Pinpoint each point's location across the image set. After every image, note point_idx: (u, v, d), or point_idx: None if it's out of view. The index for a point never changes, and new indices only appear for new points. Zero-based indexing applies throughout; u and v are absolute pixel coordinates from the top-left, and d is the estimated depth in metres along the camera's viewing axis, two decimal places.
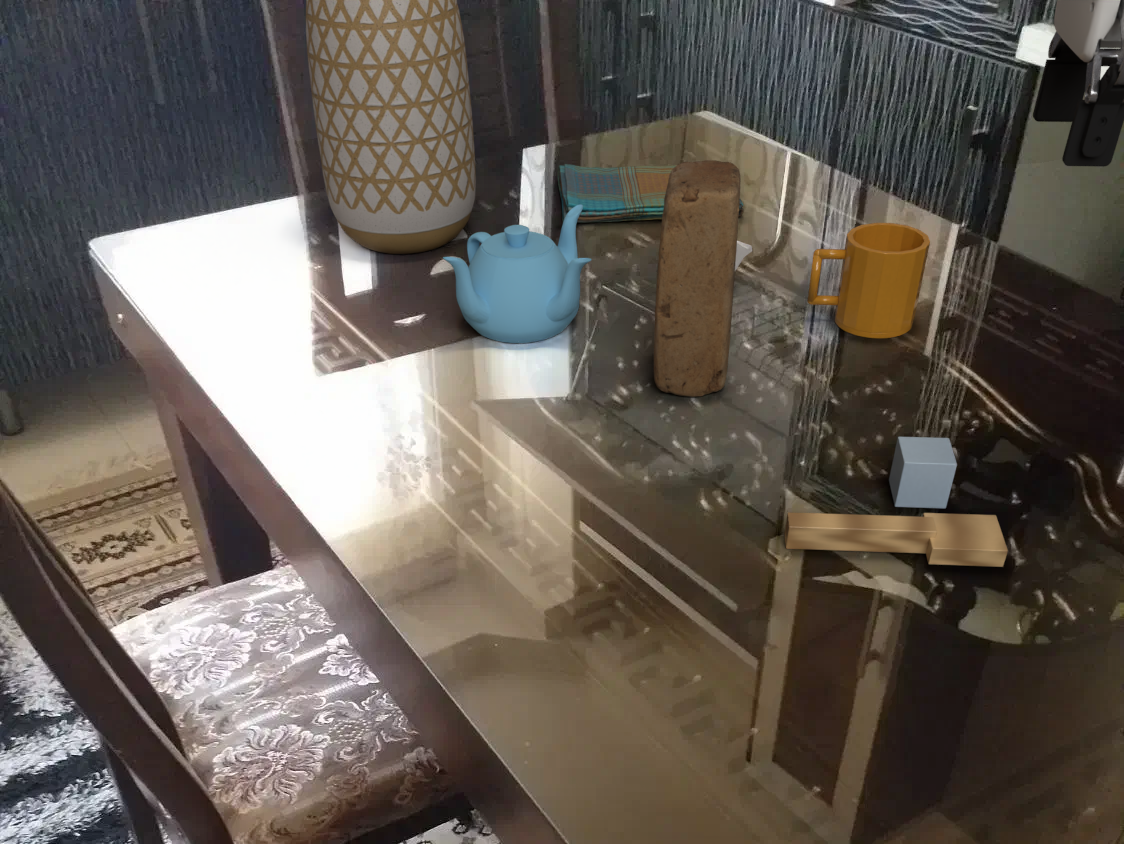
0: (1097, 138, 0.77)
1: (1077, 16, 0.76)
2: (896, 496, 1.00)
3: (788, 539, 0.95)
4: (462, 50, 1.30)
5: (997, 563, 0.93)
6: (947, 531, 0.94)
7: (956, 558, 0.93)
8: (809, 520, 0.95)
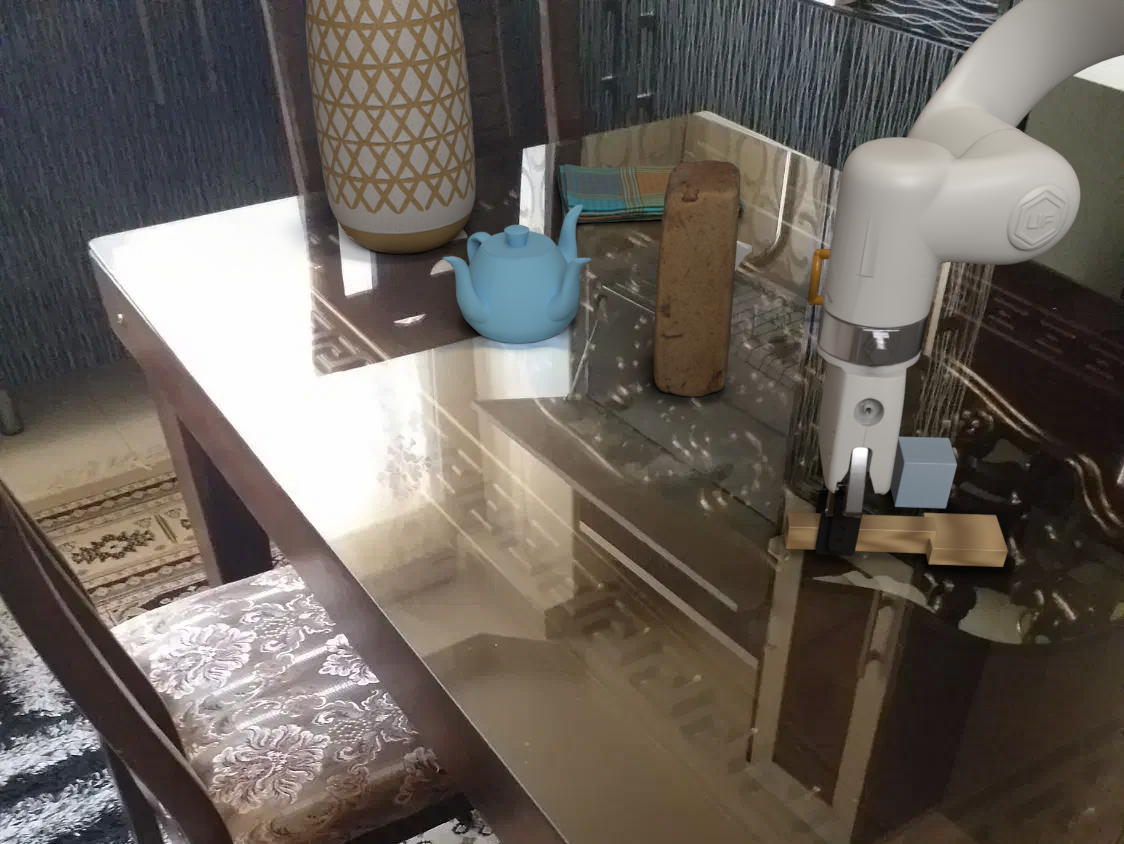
0: (839, 539, 0.93)
1: (823, 453, 0.88)
2: (896, 496, 1.00)
3: (788, 539, 0.95)
4: (462, 50, 1.30)
5: (997, 563, 0.93)
6: (946, 531, 0.94)
7: (956, 558, 0.93)
8: (809, 520, 0.95)
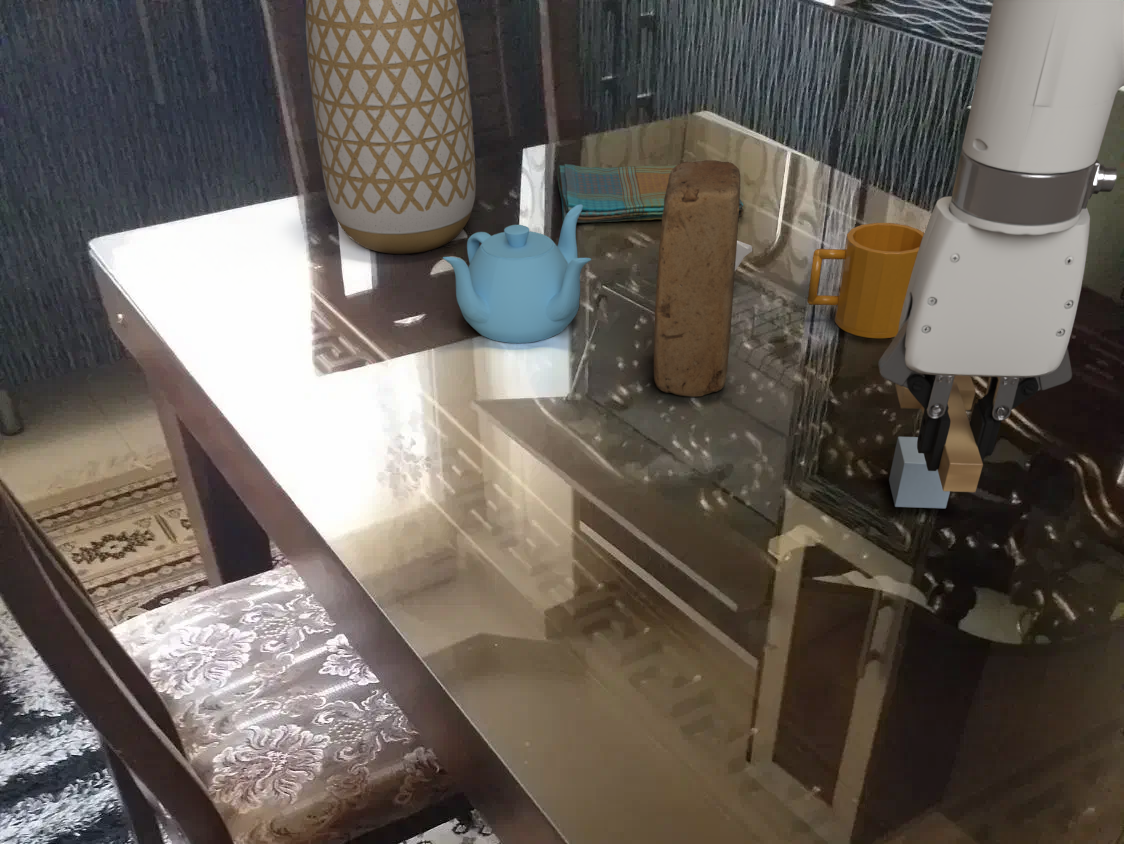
0: None
1: (1020, 348, 0.73)
2: (896, 496, 1.00)
3: (978, 479, 0.78)
4: (462, 50, 1.30)
5: None
6: None
7: None
8: (963, 450, 0.78)
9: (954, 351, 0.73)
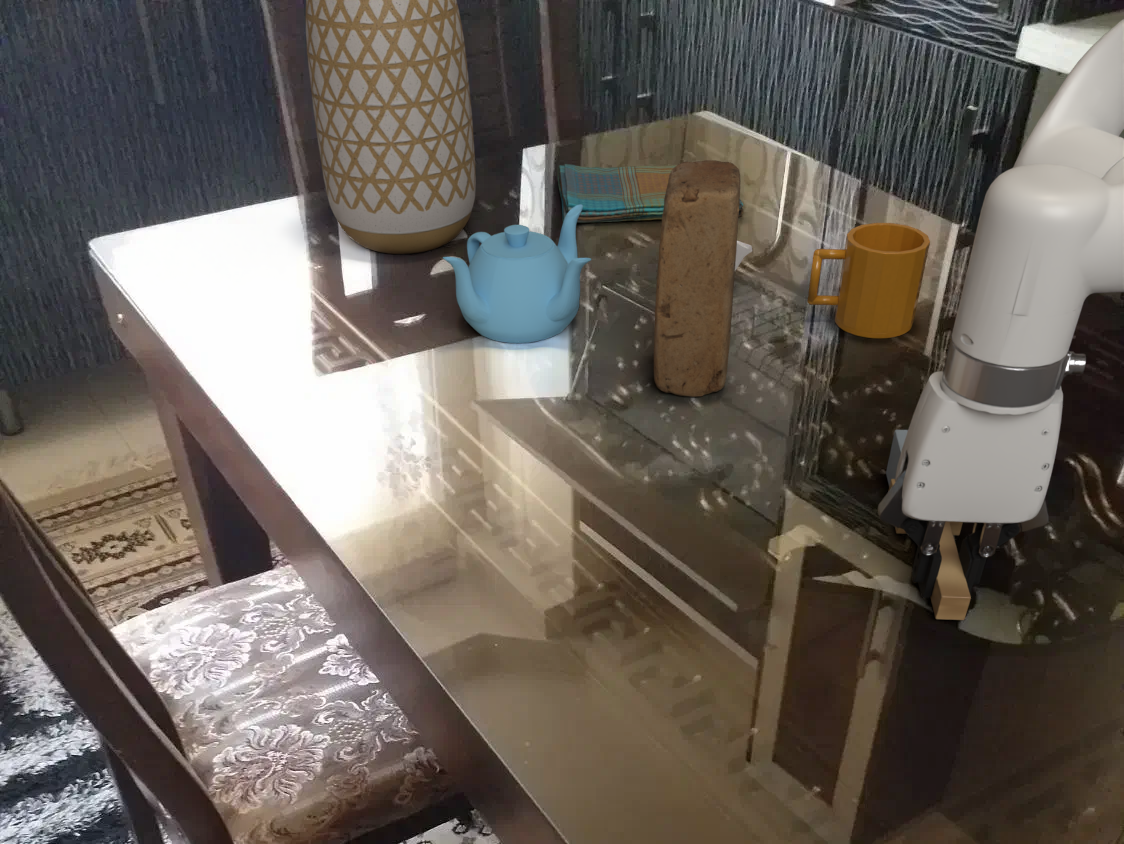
0: None
1: (1003, 501, 0.82)
2: None
3: None
4: (462, 50, 1.30)
5: None
6: None
7: None
8: (953, 583, 0.88)
9: (945, 503, 0.83)
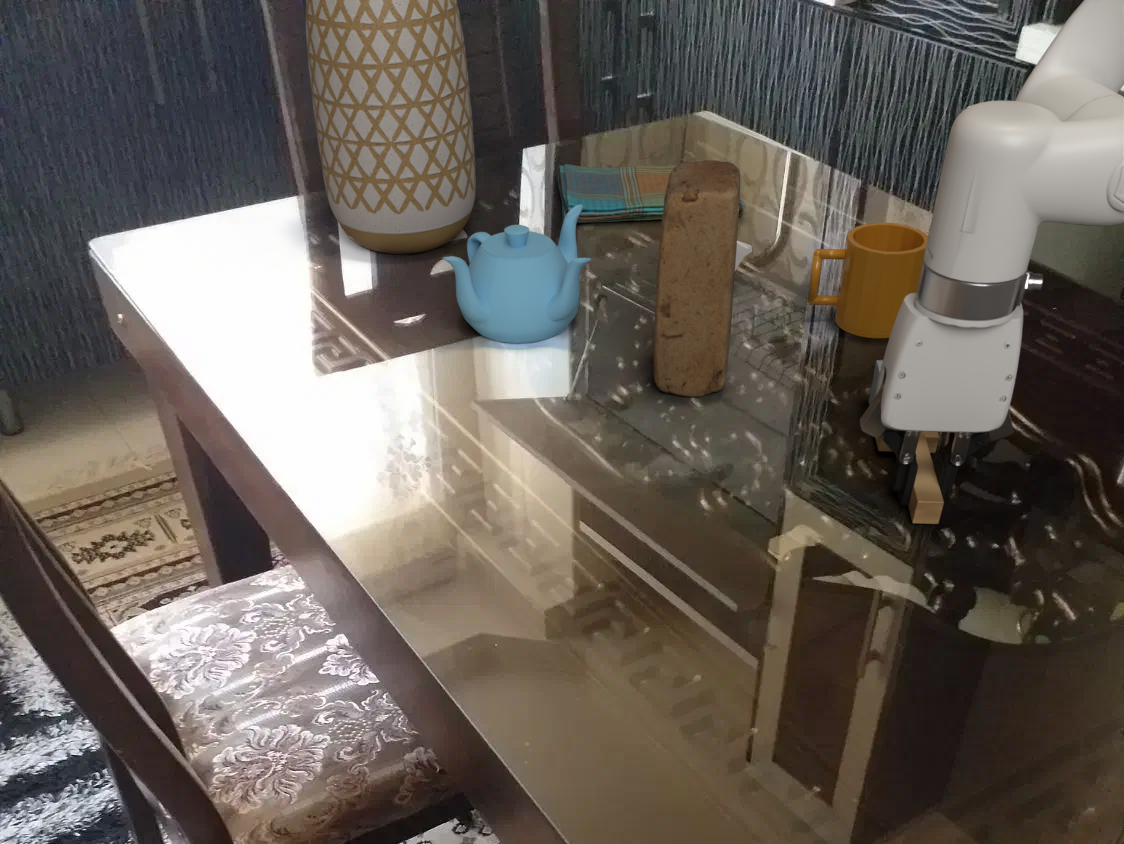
0: None
1: (972, 411, 0.92)
2: None
3: (940, 514, 0.97)
4: (462, 50, 1.30)
5: None
6: None
7: None
8: (928, 490, 0.97)
9: (919, 413, 0.92)
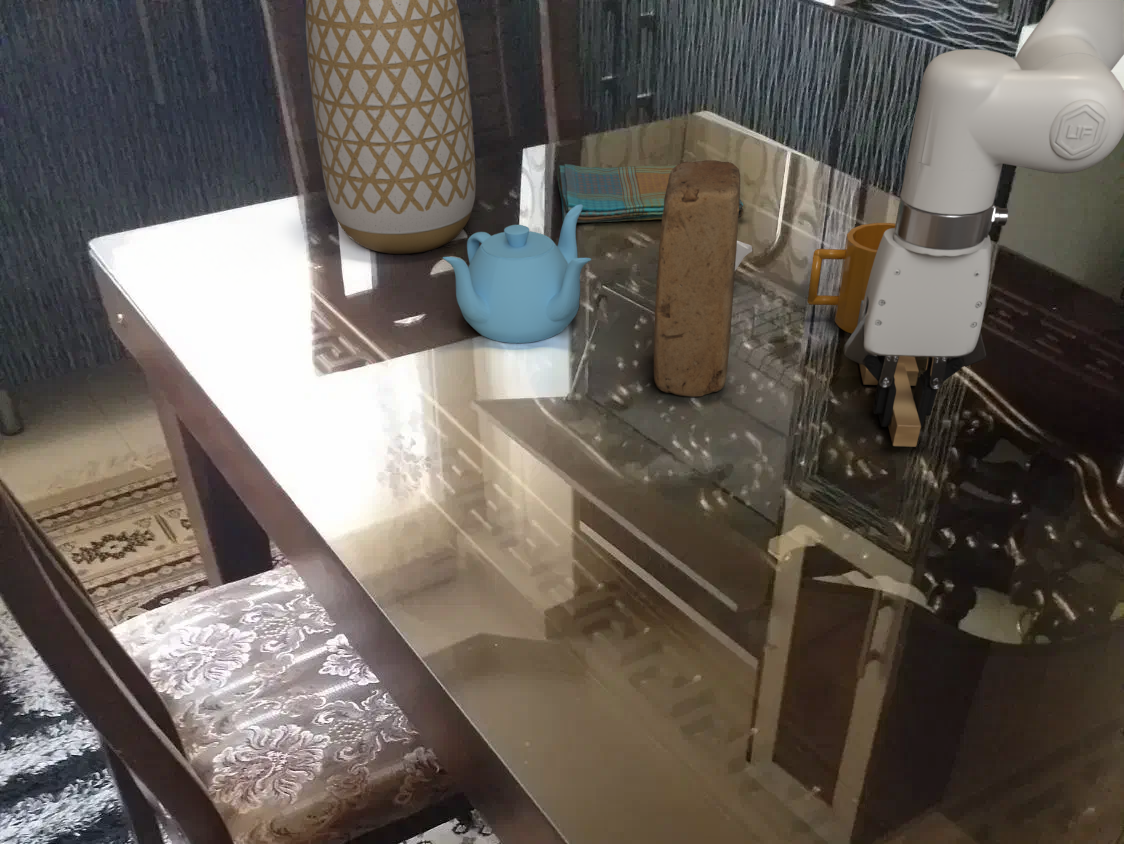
0: None
1: (945, 336, 1.01)
2: None
3: None
4: (462, 50, 1.30)
5: None
6: None
7: None
8: (907, 415, 1.07)
9: (898, 338, 1.02)
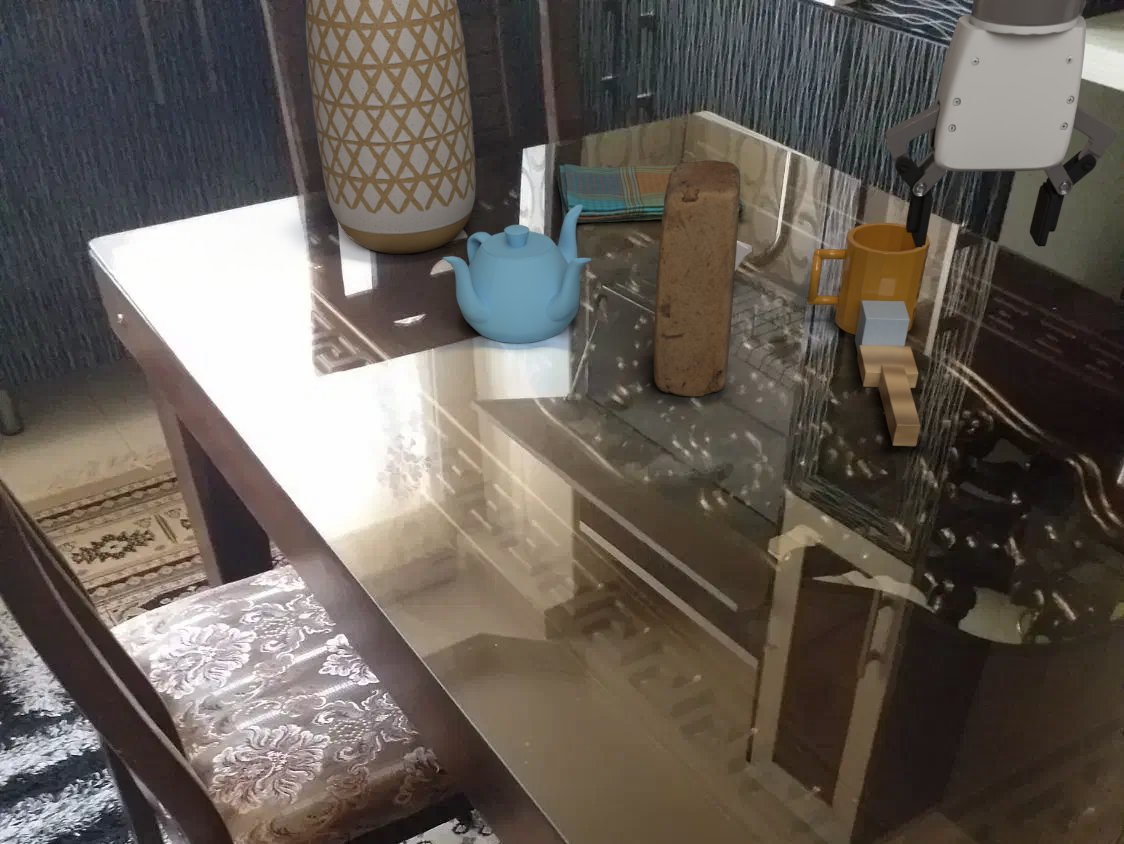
0: None
1: (1031, 141, 0.88)
2: None
3: None
4: (462, 50, 1.30)
5: None
6: None
7: None
8: (906, 415, 1.07)
9: (975, 147, 0.88)
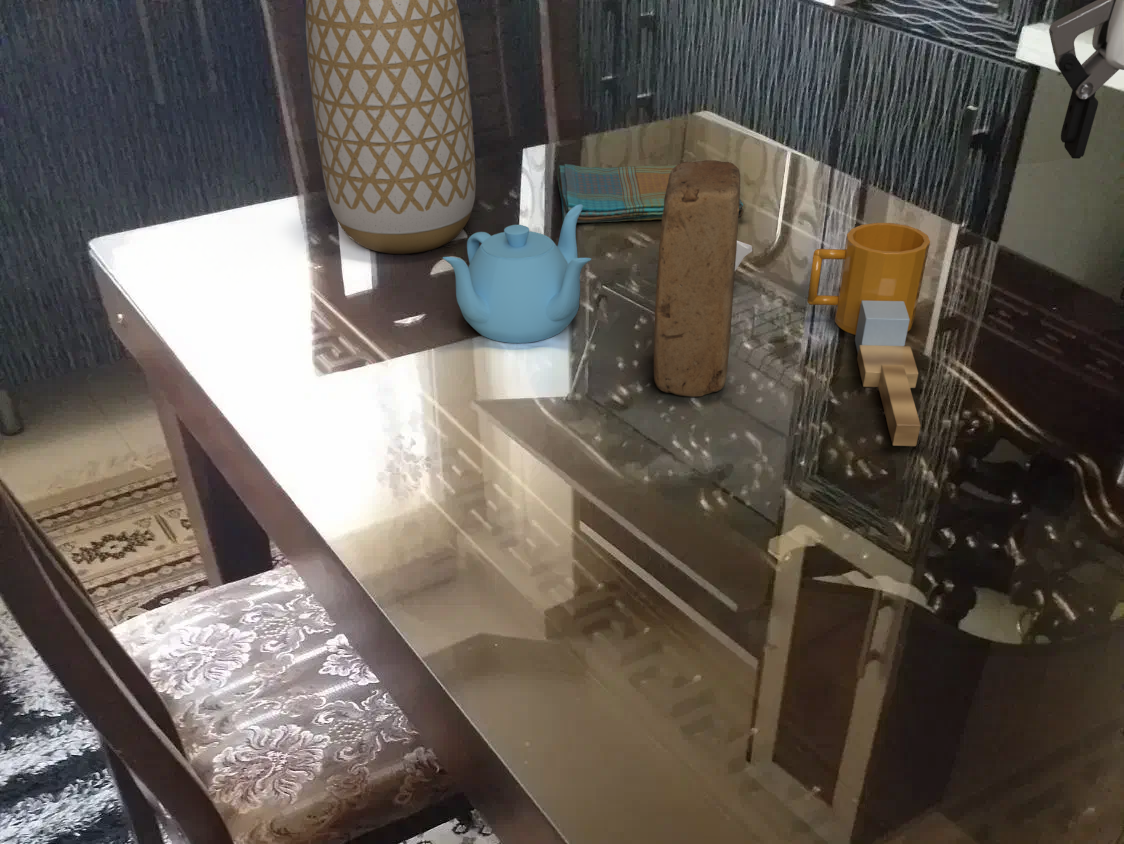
0: None
1: None
2: None
3: None
4: (462, 50, 1.30)
5: None
6: None
7: None
8: (906, 415, 1.07)
9: None
